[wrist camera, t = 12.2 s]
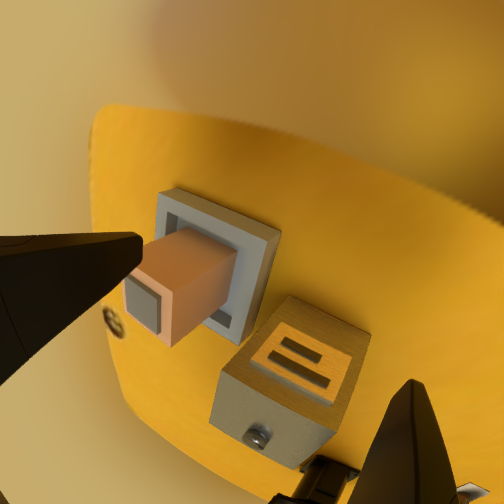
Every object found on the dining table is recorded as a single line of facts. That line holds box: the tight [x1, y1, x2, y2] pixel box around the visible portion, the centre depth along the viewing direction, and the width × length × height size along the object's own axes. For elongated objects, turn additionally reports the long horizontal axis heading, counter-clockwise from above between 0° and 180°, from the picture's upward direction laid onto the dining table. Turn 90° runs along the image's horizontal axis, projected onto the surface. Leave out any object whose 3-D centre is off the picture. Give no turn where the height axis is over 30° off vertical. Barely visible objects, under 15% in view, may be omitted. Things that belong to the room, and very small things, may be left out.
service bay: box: [155, 188, 281, 346], centre depth 23 cm, size 10×10×2 cm
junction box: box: [209, 295, 371, 470], centre depth 18 cm, size 8×7×10 cm
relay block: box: [122, 227, 238, 347], centre depth 21 cm, size 5×5×7 cm
